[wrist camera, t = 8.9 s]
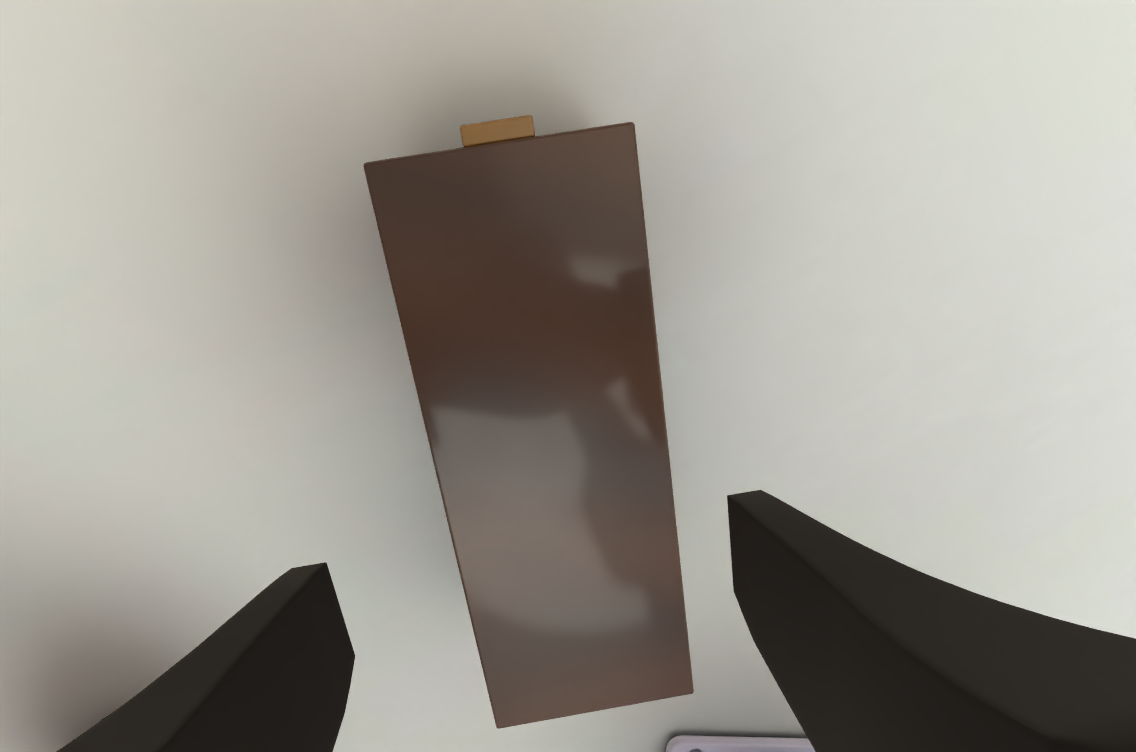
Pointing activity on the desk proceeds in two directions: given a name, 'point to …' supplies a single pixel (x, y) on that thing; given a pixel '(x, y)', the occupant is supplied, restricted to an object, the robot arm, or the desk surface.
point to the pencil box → (543, 408)
